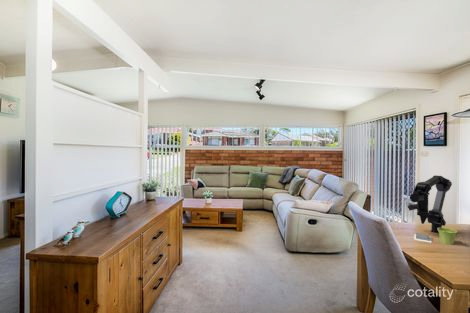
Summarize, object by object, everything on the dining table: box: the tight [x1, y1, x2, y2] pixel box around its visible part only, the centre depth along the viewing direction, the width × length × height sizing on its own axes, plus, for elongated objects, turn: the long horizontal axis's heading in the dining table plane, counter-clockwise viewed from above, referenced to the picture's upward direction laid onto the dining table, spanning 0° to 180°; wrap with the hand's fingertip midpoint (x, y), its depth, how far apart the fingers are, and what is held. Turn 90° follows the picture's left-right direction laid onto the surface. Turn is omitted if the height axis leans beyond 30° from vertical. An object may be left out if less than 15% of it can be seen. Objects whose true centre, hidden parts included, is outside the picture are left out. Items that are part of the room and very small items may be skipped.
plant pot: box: [437, 227, 458, 246], centre depth 152 cm, size 9×9×9 cm
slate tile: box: [415, 232, 430, 241], centre depth 160 cm, size 2×7×8 cm
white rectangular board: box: [413, 233, 432, 244], centre depth 160 cm, size 14×9×1 cm, turn 142°
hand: (422, 223), depth 166 cm, fingers closed
